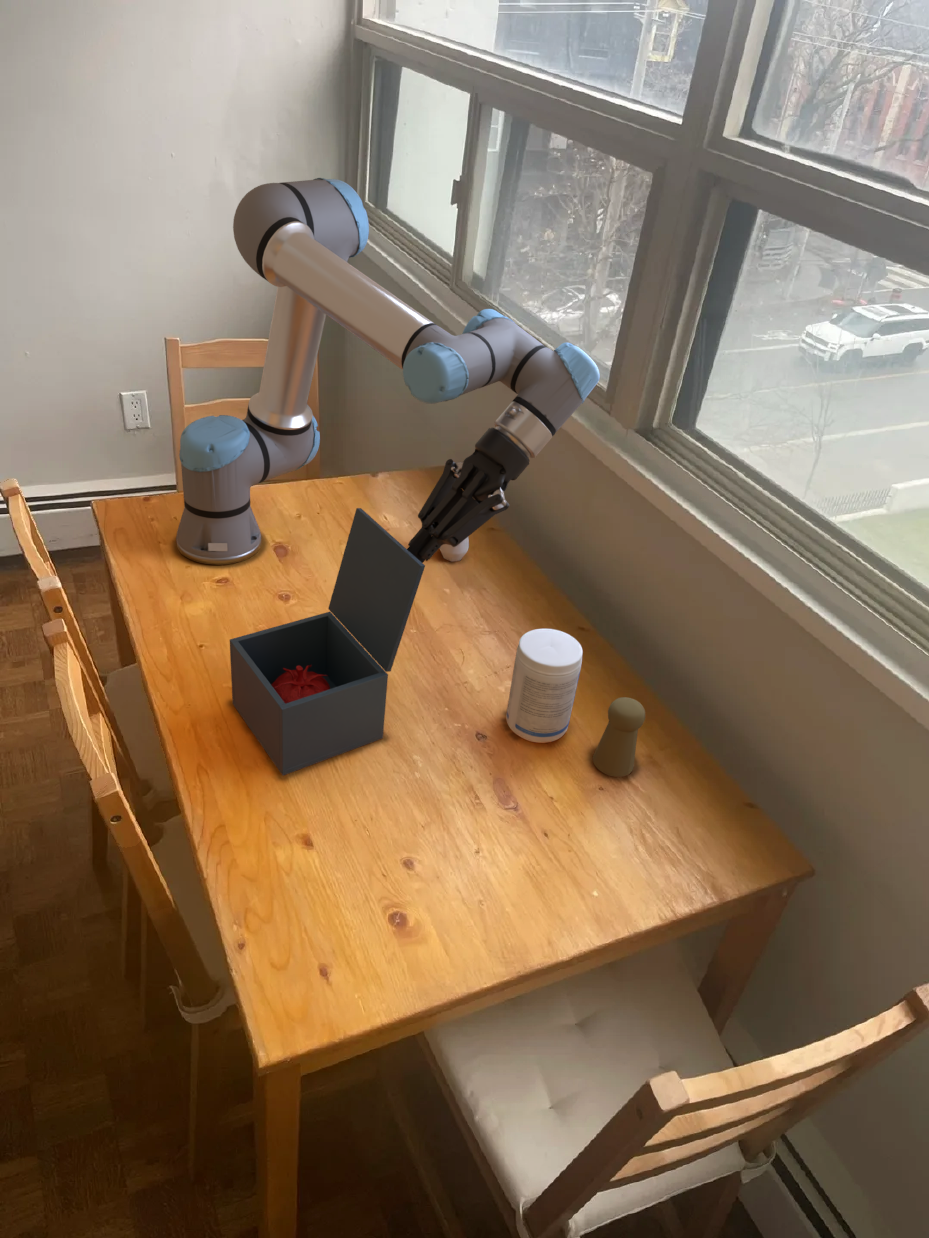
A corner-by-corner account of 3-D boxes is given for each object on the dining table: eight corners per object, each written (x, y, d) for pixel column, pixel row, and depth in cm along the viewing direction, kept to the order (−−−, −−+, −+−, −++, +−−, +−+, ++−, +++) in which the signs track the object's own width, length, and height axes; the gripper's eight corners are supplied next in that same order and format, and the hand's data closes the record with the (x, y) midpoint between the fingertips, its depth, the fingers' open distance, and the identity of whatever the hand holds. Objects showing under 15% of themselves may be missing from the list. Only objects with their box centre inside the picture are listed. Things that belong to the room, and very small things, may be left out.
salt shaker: (471, 562, 173) (480, 502, 166) (444, 565, 171) (451, 505, 164) (460, 547, 178) (468, 487, 170) (433, 549, 176) (439, 490, 168)
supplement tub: (579, 733, 136) (598, 656, 128) (530, 753, 131) (546, 675, 123) (540, 696, 142) (556, 620, 134) (492, 714, 138) (505, 636, 129)
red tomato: (303, 752, 125) (304, 701, 120) (251, 720, 129) (249, 669, 124) (350, 717, 132) (352, 667, 127) (299, 687, 136) (299, 638, 131)
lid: (420, 565, 116) (425, 565, 117) (356, 507, 127) (361, 508, 127) (385, 672, 123) (390, 671, 124) (327, 608, 134) (332, 608, 134)
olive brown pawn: (585, 751, 133) (600, 694, 127) (621, 744, 135) (637, 688, 129) (604, 780, 129) (620, 722, 122) (641, 772, 131) (658, 715, 124)
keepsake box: (282, 776, 122) (282, 709, 116) (232, 704, 133) (229, 639, 126) (383, 738, 131) (388, 674, 124) (328, 673, 141) (330, 611, 134)
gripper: (471, 410, 127) (362, 537, 128) (528, 447, 119) (412, 582, 120) (496, 439, 133) (392, 560, 134) (552, 476, 125) (441, 605, 125)
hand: (401, 571), depth 127 cm, fingers closed
